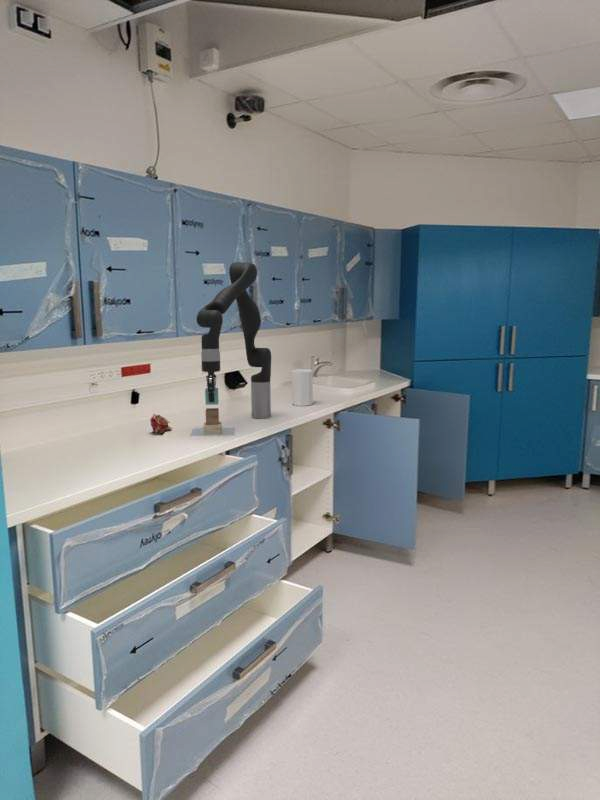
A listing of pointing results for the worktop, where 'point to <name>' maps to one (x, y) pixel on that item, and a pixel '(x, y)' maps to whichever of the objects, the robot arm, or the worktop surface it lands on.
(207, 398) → the block teal
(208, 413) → the block walnut
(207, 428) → the base block
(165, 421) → the flower
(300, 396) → the cup
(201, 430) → the board
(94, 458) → the worktop surface
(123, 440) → the worktop surface
